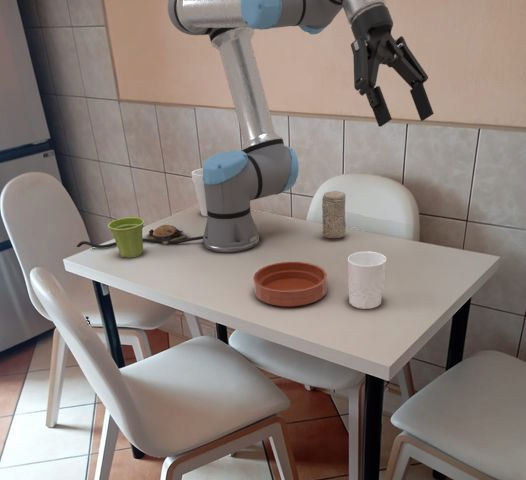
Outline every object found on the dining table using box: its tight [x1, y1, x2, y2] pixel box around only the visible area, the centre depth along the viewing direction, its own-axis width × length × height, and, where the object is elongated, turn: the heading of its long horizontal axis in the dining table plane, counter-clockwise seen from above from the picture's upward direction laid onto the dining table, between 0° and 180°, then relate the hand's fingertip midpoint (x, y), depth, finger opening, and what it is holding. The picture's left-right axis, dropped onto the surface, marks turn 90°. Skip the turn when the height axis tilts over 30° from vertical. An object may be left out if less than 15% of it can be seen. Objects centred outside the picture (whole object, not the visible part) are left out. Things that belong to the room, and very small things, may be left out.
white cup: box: [347, 250, 388, 310], centre depth 120 cm, size 8×8×10 cm
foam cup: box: [191, 167, 207, 217], centre depth 178 cm, size 10×9×13 cm
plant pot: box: [107, 216, 145, 259], centre depth 152 cm, size 9×9×9 cm
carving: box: [321, 190, 347, 239], centre depth 154 cm, size 6×8×12 cm
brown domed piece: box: [146, 224, 188, 246], centre depth 163 cm, size 11×8×4 cm
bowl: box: [252, 261, 328, 307], centre depth 128 cm, size 16×16×4 cm
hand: (407, 120), depth 111 cm, fingers open, 13 cm apart
